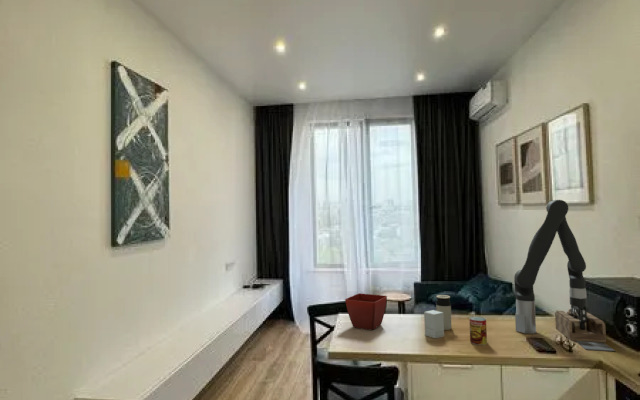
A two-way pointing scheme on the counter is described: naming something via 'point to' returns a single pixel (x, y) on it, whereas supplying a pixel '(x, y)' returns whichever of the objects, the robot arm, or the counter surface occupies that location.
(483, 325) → the canned food
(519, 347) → the counter surface
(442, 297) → the travel mug
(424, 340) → the counter surface
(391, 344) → the counter surface
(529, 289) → the robot arm
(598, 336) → the station
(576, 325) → the block
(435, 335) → the supplement box
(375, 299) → the plant pot
